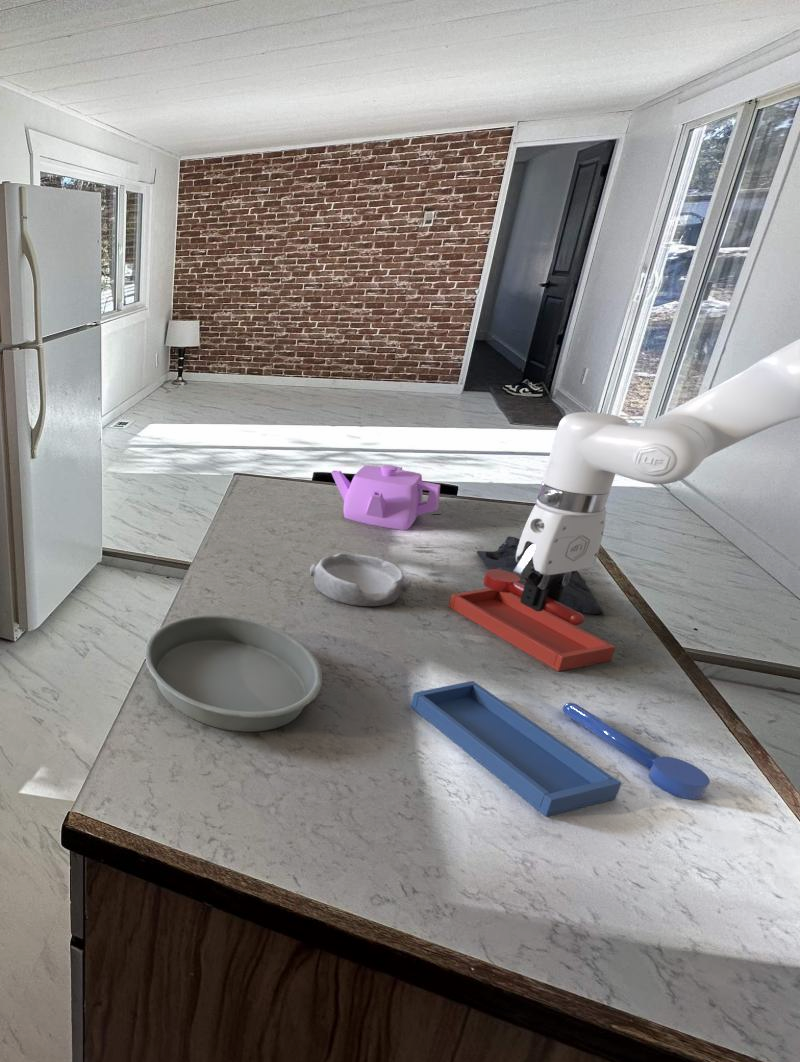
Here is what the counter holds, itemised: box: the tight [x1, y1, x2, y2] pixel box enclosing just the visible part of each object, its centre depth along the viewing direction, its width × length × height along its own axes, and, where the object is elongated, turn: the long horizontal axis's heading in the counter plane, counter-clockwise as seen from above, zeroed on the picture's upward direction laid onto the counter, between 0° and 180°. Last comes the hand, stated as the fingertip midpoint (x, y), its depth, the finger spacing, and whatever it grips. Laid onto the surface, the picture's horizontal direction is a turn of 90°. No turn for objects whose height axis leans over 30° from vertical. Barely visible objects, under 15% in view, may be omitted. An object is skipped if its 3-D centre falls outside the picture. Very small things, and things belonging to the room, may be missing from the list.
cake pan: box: [144, 614, 323, 733], centre depth 95 cm, size 25×25×4 cm
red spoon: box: [482, 569, 586, 626], centre depth 101 cm, size 15×5×2 cm, turn 12°
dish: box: [309, 552, 412, 607], centre depth 117 cm, size 14×14×5 cm
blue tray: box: [410, 680, 622, 817], centre depth 80 cm, size 19×10×2 cm, turn 12°
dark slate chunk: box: [476, 535, 605, 615], centre depth 116 cm, size 15×22×5 cm
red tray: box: [448, 587, 616, 672], centre depth 103 cm, size 19×10×2 cm, turn 12°
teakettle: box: [330, 464, 441, 531], centre depth 145 cm, size 17×17×12 cm
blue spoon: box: [561, 702, 711, 801], centre depth 79 cm, size 15×5×2 cm, turn 12°
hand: (538, 604), depth 100 cm, fingers closed on red spoon, 2 cm apart
